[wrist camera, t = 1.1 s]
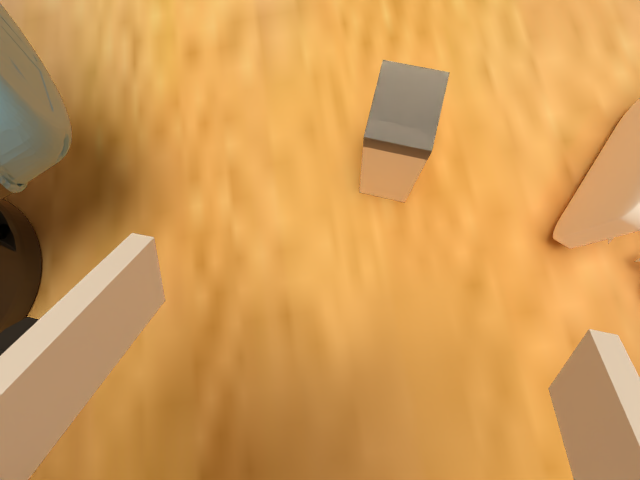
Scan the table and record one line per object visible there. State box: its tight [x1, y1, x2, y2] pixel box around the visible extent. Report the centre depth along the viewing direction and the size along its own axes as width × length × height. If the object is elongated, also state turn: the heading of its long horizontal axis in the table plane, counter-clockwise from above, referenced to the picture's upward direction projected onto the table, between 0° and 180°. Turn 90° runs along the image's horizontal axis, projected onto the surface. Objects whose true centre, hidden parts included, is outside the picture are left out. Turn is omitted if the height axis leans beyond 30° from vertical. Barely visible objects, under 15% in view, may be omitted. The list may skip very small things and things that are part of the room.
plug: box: [359, 60, 449, 202], centre depth 30 cm, size 4×5×12 cm
